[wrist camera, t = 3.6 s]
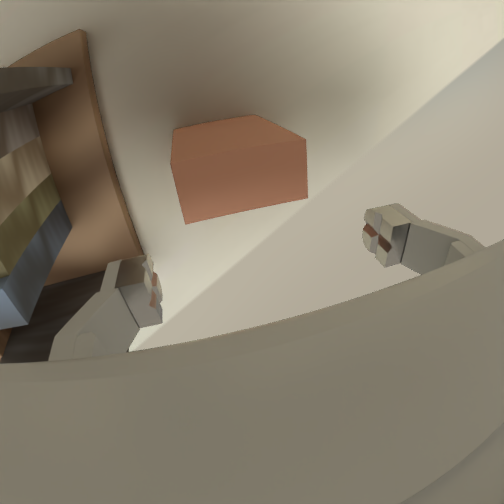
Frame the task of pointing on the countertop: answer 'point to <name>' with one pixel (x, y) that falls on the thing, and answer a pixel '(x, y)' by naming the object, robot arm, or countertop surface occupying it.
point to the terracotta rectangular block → (236, 167)
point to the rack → (54, 197)
